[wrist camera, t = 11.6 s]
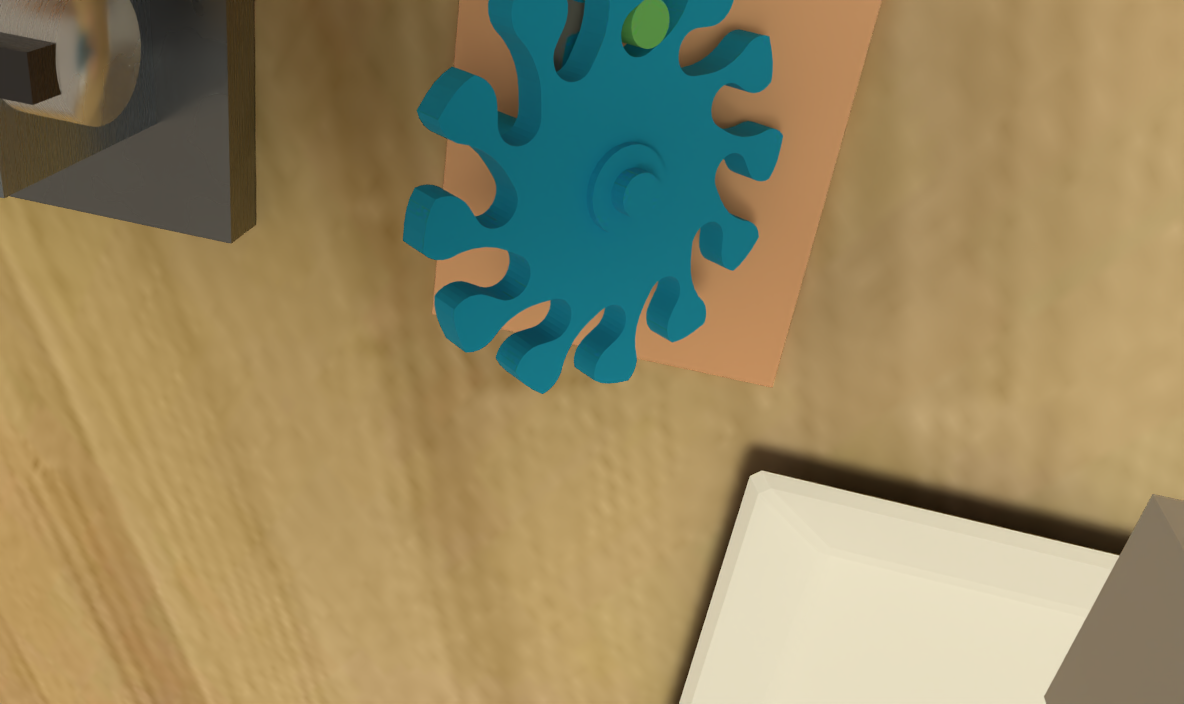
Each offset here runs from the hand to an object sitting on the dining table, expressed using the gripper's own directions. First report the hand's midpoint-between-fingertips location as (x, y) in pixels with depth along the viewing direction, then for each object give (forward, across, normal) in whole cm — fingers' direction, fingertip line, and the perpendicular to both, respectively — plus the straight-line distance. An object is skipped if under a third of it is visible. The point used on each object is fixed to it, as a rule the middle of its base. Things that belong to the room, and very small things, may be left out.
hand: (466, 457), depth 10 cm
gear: (+18, +2, -1) cm, 18 cm away
